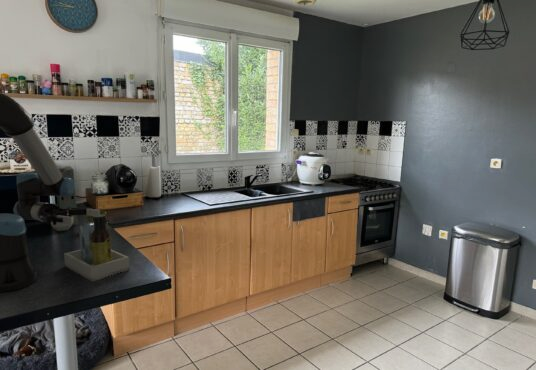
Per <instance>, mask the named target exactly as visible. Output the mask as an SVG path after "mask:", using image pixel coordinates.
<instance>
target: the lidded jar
mask: <svg viewBox="0 0 536 370" xmlns="http://www.w3.org/2000/svg"><path fill="white" fill-rule="evenodd" d="M67 215H69V214H68V212H67ZM71 222H72V224H73V215H72V216H71ZM56 223H57V222H56ZM72 224H63V223H57V224H56V225H53V222H51V223H50V226H51V227H52V228H53V229H54V230H55V231H56V232H63V231H68V230H70V228H71V227H72V226H73V225H72Z"/></svg>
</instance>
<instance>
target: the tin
mask: <svg viewBox="0 0 536 370" xmlns="http://www.w3.org/2000/svg"><path fill="white" fill-rule="evenodd" d="M78 231H79V234H78V235H79V243H80V250H81V257H82V261H83V262H85V263H87V264H89V265H93V255H92V238H91V235H92V233H93V231H94V222H89V221H88V222H83V223H80V224H79V223H78Z"/></svg>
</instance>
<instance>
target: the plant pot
mask: <svg viewBox="0 0 536 370" xmlns="http://www.w3.org/2000/svg"><path fill="white" fill-rule="evenodd" d="M100 215H105V216H106V215H107V211H105V210H100ZM86 217H87V219H88V222H94V220H93V216H88V215H86Z"/></svg>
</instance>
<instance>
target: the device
mask: <svg viewBox="0 0 536 370" xmlns="http://www.w3.org/2000/svg"><path fill="white" fill-rule="evenodd" d="M58 169H59V170H60V172H61V174H62V175H63V177H64V178H66V177H67V178H71V179H73V181H74V183H76V182H75V181H76V180H75V171H74V168H73V167H72V166H69V165H68V166H64V167H58ZM56 199H57V200H56V201H57V205H58V206H59V207H60V208H68V207H73V208H77V197H76V188H75V189H74V192H73V194H71V195H69V196H56ZM78 221H79V220H78V215H73V224H72V226H79V222H78Z"/></svg>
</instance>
